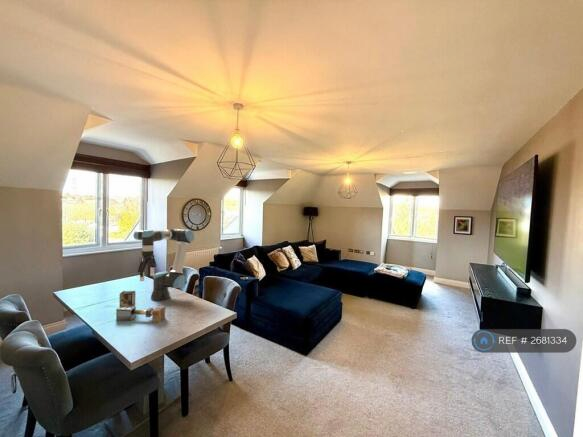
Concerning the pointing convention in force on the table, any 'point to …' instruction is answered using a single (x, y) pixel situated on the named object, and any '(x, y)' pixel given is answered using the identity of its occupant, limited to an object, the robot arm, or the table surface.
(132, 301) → the coffee box
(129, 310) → the sleeve
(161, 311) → the tan box
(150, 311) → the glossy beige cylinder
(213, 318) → the table surface
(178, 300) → the table surface
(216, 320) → the table surface
